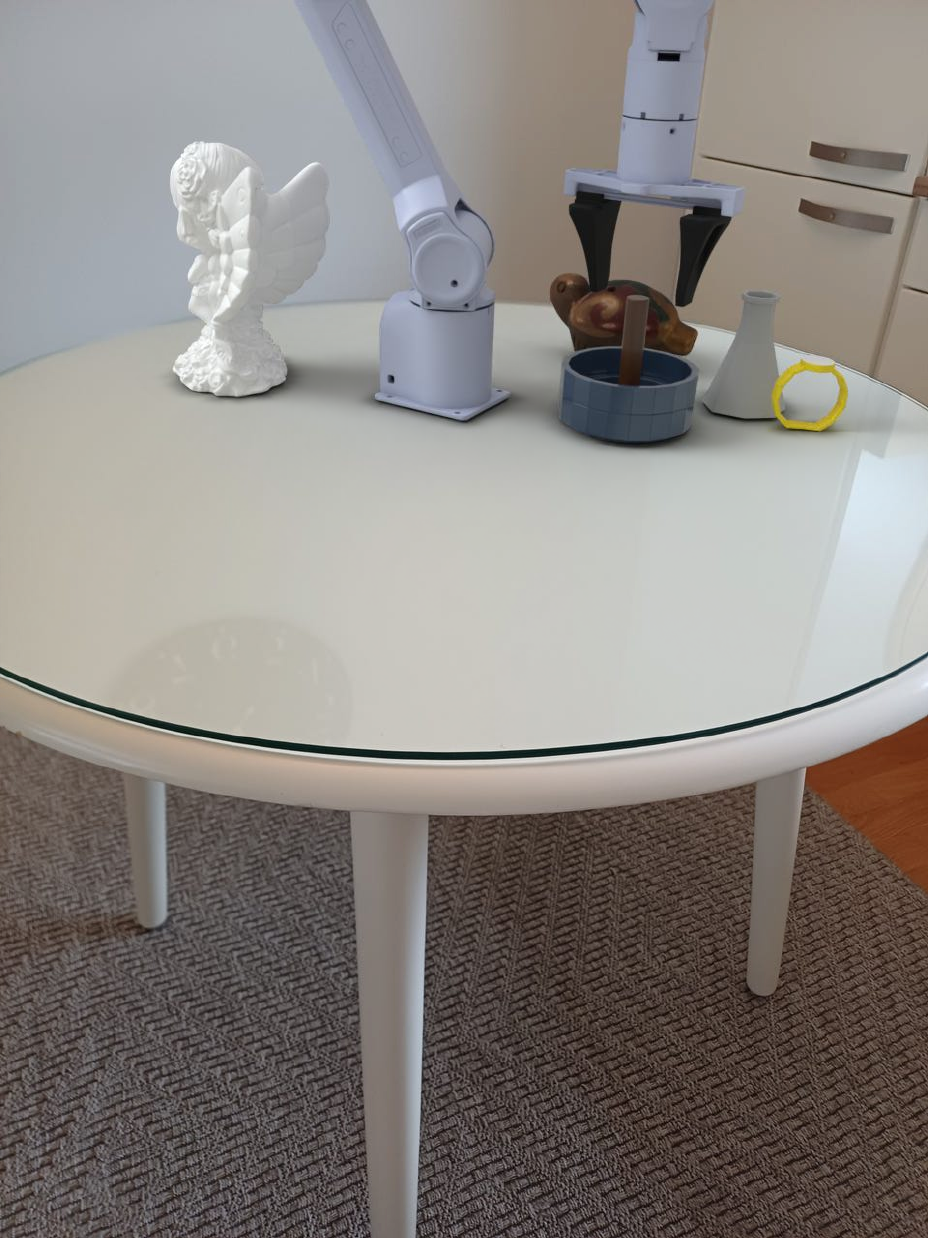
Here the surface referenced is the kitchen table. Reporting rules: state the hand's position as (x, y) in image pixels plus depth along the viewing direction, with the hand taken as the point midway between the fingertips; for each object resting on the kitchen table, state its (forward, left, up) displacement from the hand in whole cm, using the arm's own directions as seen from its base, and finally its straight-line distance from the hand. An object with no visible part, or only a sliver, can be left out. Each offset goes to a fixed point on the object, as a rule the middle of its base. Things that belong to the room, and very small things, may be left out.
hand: (640, 296), depth 90 cm
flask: (+8, +7, -10) cm, 15 cm away
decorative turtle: (-7, +13, -10) cm, 18 cm away
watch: (+14, +5, -10) cm, 18 cm away
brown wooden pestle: (+1, -3, -9) cm, 10 cm away
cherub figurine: (-33, -12, -10) cm, 37 cm away
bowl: (+1, -3, -10) cm, 10 cm away
